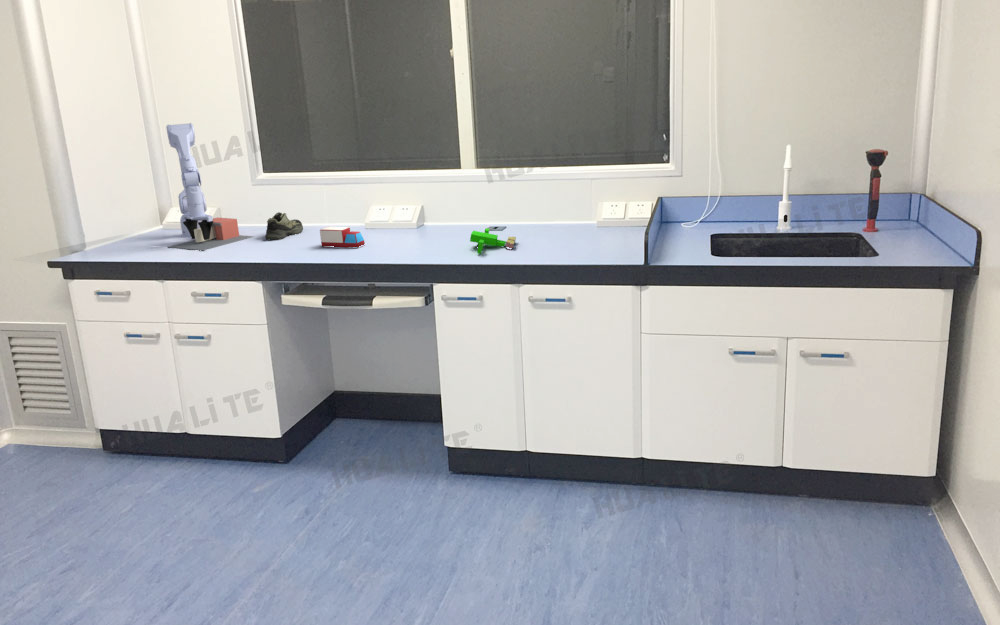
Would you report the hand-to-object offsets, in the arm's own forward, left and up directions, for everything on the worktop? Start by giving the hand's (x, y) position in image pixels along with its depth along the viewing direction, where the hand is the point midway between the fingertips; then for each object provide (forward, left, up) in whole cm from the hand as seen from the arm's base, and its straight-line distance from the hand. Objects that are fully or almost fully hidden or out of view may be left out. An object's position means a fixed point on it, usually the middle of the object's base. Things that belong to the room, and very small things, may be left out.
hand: (200, 239), depth 314 cm
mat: (+3, +3, -2) cm, 4 cm away
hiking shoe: (+22, +23, -2) cm, 32 cm away
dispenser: (0, +10, -1) cm, 10 cm away
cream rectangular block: (0, +4, -1) cm, 4 cm away
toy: (+113, +29, -2) cm, 117 cm away
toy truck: (+59, +14, -2) cm, 61 cm away
